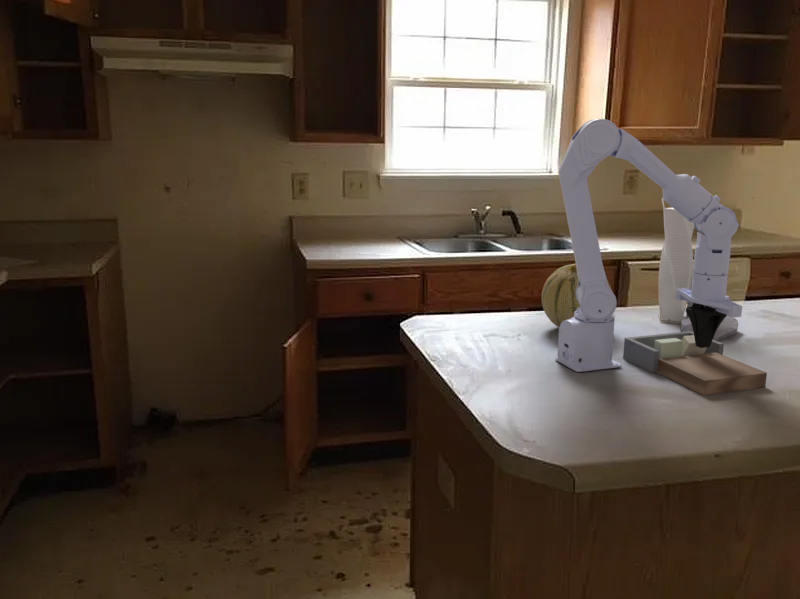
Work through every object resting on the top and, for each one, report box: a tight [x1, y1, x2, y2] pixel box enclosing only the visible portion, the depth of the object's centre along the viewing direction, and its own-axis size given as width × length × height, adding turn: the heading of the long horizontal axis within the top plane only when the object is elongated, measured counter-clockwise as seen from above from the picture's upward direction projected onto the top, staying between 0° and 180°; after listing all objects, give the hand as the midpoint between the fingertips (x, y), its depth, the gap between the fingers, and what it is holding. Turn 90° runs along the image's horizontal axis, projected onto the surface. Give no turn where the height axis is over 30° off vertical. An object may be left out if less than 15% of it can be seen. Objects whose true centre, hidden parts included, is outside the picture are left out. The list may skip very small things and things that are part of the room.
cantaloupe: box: [541, 263, 613, 328], centre depth 155 cm, size 15×15×15 cm
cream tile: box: [682, 335, 707, 356], centre depth 134 cm, size 4×4×2 cm
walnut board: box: [657, 352, 768, 396], centre depth 125 cm, size 12×12×2 cm
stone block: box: [680, 315, 739, 341], centre depth 154 cm, size 12×5×10 cm
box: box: [622, 331, 725, 374], centre depth 135 cm, size 15×9×4 cm, turn 108°
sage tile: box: [654, 338, 683, 359], centre depth 132 cm, size 4×4×2 cm
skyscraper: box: [657, 197, 695, 325], centre depth 162 cm, size 8×8×28 cm
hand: (702, 346), depth 130 cm, fingers closed
